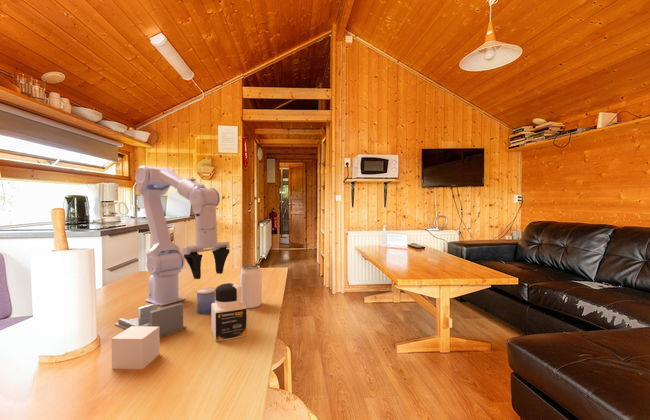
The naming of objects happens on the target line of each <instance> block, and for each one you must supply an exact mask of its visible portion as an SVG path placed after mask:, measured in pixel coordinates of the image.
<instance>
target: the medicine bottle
mask: <svg viewBox="0 0 650 420" xmlns="http://www.w3.org/2000/svg"><path fill="white" fill-rule="evenodd" d="M247 315H248V314H247V308H246V306H245V305H244V304H243V303H242V301H241V286H240V284H238V283H232V282H229V283H222V284H220V285H218V286H216V288H215V303H212V304H211V320H210V321H211V323H210V324H211V326H210V327H211V333H212V336H213V338H214V340H215V342H217V343H218V342H222V341H223V342H224V341H229V340H234V339H239V338H245V337H247V332H248V330H247V325H248V324H247V321H248V320H247V319H248V318H247Z"/></svg>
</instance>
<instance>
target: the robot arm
mask: <svg viewBox="0 0 650 420" xmlns="http://www.w3.org/2000/svg"><path fill="white" fill-rule="evenodd" d="M134 179H135V183H136V186H137V187H136V188H137V192H138V194H140V195H141V199H142V204H143V208H144V211H145V217H146V220H147V225H148V227H149V228H148V229H149V233H150V237H151V241H152V247H151V248H150V249H149V250H148V251H147V252H146V268H147V271H148V272H149V274H150V276H149V279H148V280H147V288H148V291H147V293H148V295H147V296H148V297H147V298H146V299H145V302H148V303H151V304H154V303H157V304H158V306H161V307H164V306H167V305H170V304H173V303H177V302H182V301H184V300H185V297H182V296H180V292H179V291H180V290H179V285H180V284H179V282H180V281H179V280H180V279H179V273H181V272H182V271H181V270H182V269H183V268H184V267H185V260H186V263H187V264H188V266H189V268H190V270H191V273H192V276H193V280H194V279H195V280H201V278H202V276H201V275H202V274H201V273H202V272H201V268H202V267H201V264H202V259H203V254H199V253H203V252H212V255H213V259H214V262H215V263H214V264H215V265H214V266H215V271H216V274H220V275H221V274H223V273H224V268H225V264H226V261H227V258H228V256H229V254H230V251H231V250H230V247H231V246H230V241H221V242H220V241H219V242H218V227H217V207H218V206H219V203H220V199H221V196H220V192H219V191H218V190H217V189H216V188H215V187H209V188H208V187H206V186H205V184H203V183H198V182H197V181H196V178H193V177H185V178H183V177H181V176H180V175H179V174H177V173H176V172H175V170H174V169H171V168H169V167H165V168H164V167H156V166H155V167H154V166H148V165H139V167H138V169H137V170H136V172H135V176H134ZM170 187H173V188H175V189H177V193H178V195H180V196H182V197H183V198H184V199H187V200H189V203H190V205H191V207H192V212H193V214H194V218H195V235H196V236H195V237H196V240H195V241H196V244H194V245H189V246H188V245H187V246H183V247H181V248H180V246H179V245H177V244H176V243H173V242H172V241H171V235H170V232H169V228H168V223H167V221H166V216H165V211H164V208H163V205H162V200H161V198H162V196H164V195H166V194H167V192H168V190H169V189H170ZM181 249H182V251H181Z"/></svg>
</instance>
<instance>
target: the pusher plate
mask: <svg viewBox="0 0 650 420" xmlns="http://www.w3.org/2000/svg"><path fill="white" fill-rule="evenodd" d="M158 307H159V305H158V304H157V303H151V304H147V305H144V306H140V307H138V308H137V310H138V313H137V314H138V316H137V317H138V325H140V326H141V325H144V324H147V323H150V317H149V312H150V311H154V310H157V309H159V308H158Z"/></svg>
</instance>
